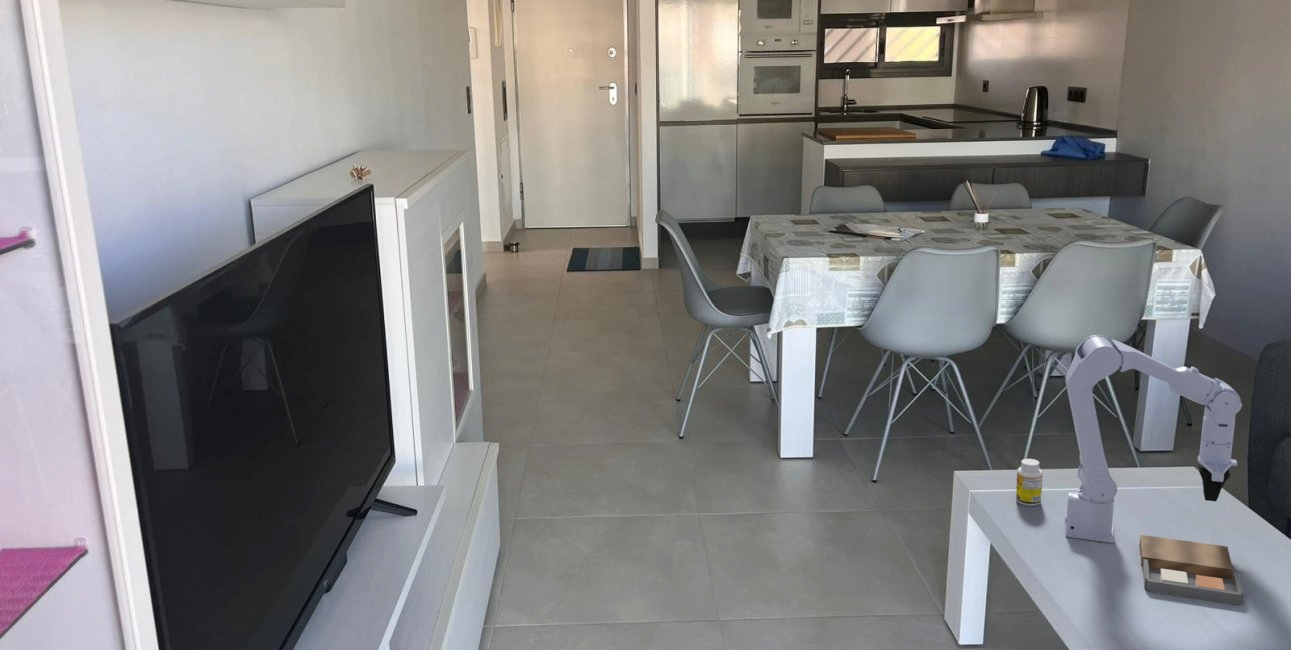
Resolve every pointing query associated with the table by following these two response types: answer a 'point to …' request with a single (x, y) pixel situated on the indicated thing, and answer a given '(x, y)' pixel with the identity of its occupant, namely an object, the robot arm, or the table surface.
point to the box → (1194, 587)
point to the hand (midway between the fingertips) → (1210, 499)
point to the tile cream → (1173, 576)
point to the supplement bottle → (1029, 483)
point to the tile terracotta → (1209, 582)
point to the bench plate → (1186, 556)
